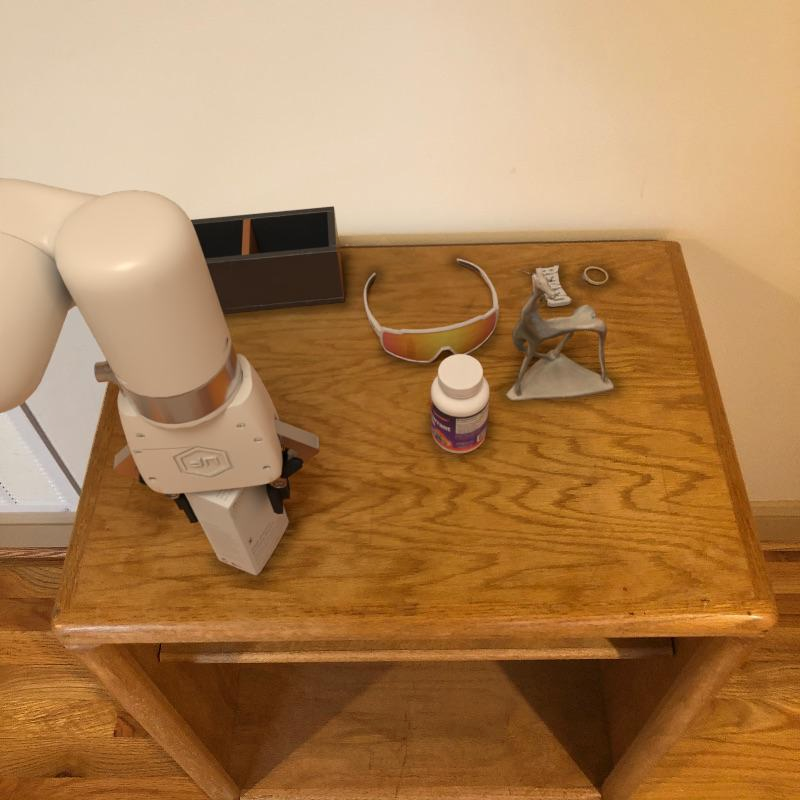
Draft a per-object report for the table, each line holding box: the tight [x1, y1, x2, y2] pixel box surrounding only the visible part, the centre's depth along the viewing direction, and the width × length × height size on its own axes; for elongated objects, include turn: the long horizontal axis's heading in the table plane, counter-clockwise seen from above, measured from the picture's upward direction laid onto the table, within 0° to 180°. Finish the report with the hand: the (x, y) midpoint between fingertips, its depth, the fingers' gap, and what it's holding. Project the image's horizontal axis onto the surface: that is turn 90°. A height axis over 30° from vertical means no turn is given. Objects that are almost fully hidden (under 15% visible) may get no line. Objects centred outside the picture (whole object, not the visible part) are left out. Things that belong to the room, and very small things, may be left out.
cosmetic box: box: [184, 484, 290, 577], centre depth 66 cm, size 6×4×12 cm
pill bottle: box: [430, 354, 490, 454], centre depth 73 cm, size 5×5×10 cm
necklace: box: [515, 264, 572, 308], centre depth 87 cm, size 7×1×5 cm
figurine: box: [505, 272, 615, 401], centre depth 75 cm, size 11×6×15 cm, turn 91°
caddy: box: [190, 205, 345, 315], centre depth 87 cm, size 19×7×8 cm, turn 95°
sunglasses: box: [363, 258, 500, 364], centre depth 85 cm, size 14×15×5 cm
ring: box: [581, 265, 609, 286], centre depth 88 cm, size 3×1×3 cm
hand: (237, 502), depth 65 cm, fingers closed on cosmetic box, 6 cm apart
